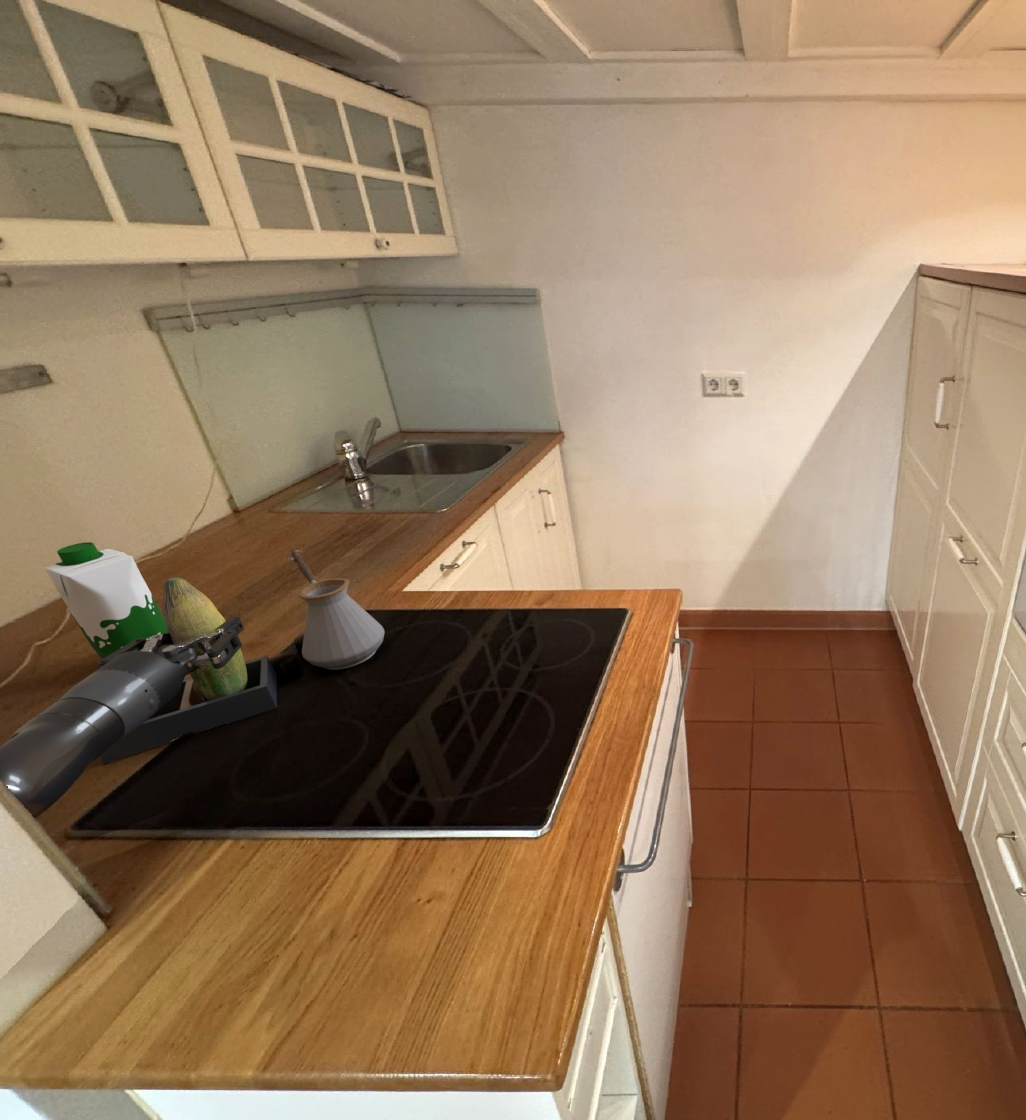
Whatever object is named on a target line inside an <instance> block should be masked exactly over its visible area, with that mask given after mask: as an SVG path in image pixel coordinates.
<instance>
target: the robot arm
mask: <svg viewBox="0 0 1026 1120" xmlns="http://www.w3.org/2000/svg"><path fill="white" fill-rule="evenodd" d="M244 630H245V627H244V625H243V622H242V620H241V618H240V617H239V616H231V617H229V618H228V619H227V620H226V622H224V623H223V624H222V625H221V626H219V627H218V628H217V629H216V630H215V631H213V632H210V633H208V634H206V635H204V636H200V635H196V636H194V637H192V638H190V639H188V640H186V641H183V642H181V643H179V644H177V645H174V643H173V641H172V638H171V635H170V633H169V630H167V631H166V632H165V633H163V634H158V635H155V636H153V637H151V639H150V640H145V638H139V639H136V640H134V641H132V642H131V643H129V644H127V645H126V646H124V647H122V648H120V649H119V650H117V651H115V652H114V653H112V654H110V655H109V656H107V657H105V658H104V659H102V658H101V659H100V660H98V661H97V666H98V667H99V668H98V669H96V670H95V671H93V672H92V673H91V674H89V675H88V676H86V677H85V678H84V679H82V680H80V681H79V682H77V683H76V684H75V685H74V686H72V687H70V689H68V690H67V691H66V692H65V693H63V694H62V695H61V697H60V698H59V699H57V700H56V701H55V702H53V704H51V705H49V706H48V707H47V708H45V709H44V710H42V711H41V712H39V713H38V714H37V715H35V716H33V718H31V719H30V720H28V721H27V722H25V723H24V724H23V725H22V726H20V727H19V728H18V729H17V730H16V731H15V732H14V733H13V734H12V735H11V736H10V737H9V738H8V741H6V742H5V743H3V744H2V745H1V746H0V779H3V781H4V783H5V785H6V786H8V789H9V790H11V792H12V794H14V796H15V797H16V798H17V799H18V800H19V801H20V802H21V803H22V804H23V805H24V807H25V808H26V809H28V811H29V812H30V813H31V814H32V816H33V817H34V818H35V819H34V820H36V819H37V818H38V817H40V816H41V815H42V814H44V813H45V812H46V811H47V810H48V809H50V808H51V807H52V806H54V804H55V803H57V802H58V801H59V800H60V799H61V798H62V797H63V796H64V795H65V794H66V793H67V792H68V791H69V790H70V789H71V787H72V786H73V785H74V784H75V783H76V782H77V780H78V779H79V778H80V777H81V776H82V775H83V774H84V772H85V771H86V769H87V768H88V767H91V765H92V764H93V763H95V762H96V761H98V760H99V759H100V757H101V756H102V755H103V754H104V753H106V752H107V751H108V750H109V749H110V748H111V747H113V746H114V745H115V744H116V743H117V742H118V741H120V740H121V739H122V738H124V737H125V736H127V735H128V734H130V733H132V732H133V731H134V730H136V729H137V728H138V727H139V726H141V725H142V724H143V723H144V722H145V721H146V720H149V719H151V718H152V717H151V716H152V715H153V714H155V713H156V712H157V711H158V710H159V709H160V708H161V707H163V706H164V705H165V704H166V703H167V702H168V701H170V700H171V699H172V698H173V697H174V696H175V695H176V694H177V693H178V692H179V691H180V689H181V687H182V684H183V681H184V679H186V676H187V675H190V673H191V672H193V671H195V670H197V669H198V668H199V667H200V666H202V665H208V664H212V665H213V667H214V669H219V668H222V667H224V666H225V665H226V664H227V663H228V662H229V660H230V659H231V658H232V657H233V656H234V655H235V654H236V652H237V651H238V650H239V649H240V650H241V647H243V644H242V641H241V640H240V639H241V638H240V637H239V634H240V633H241V632H243V631H244ZM214 638H216V640H217V641H216V642H215V643H214V644H213V645H212V646H211V645H210V643H209V642H210V640H212V639H214ZM195 644H197V645H198V647H199V649H200V651H201V656H199V654H198V652H197V650H196V648H195V647H194V646H193V645H195ZM134 649H137V651H133V650H134Z"/></svg>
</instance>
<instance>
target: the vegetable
mask: <svg viewBox="0 0 1026 1120" xmlns="http://www.w3.org/2000/svg"><path fill="white" fill-rule="evenodd" d="M161 608H162V615H163V617H164V620H165V623H166V626H167V628H168V630H169V633H170V635H171V638H172V641H173V643H174V645H177V644H179V643H181V642H183V641H186V640H188V639H190V638H192V637H194V636H196V635H200V636H204V635H206V634H208V633H210V632H213V631H215V630H216V629H217V628H218V627H219V626H221V625H222V624H223V623H224V622H226V621H227V620H226V619H225V618H224V616H223V615H222V614H221V613H220V612H219V611H218V609H217V607H216V606H215V605H214V603H213V602H212V601H211V599H210V598H208V596H206V594H204V593H203V592H201V591H200V590H199V589H197V588H196V587H195V586H193V585H192V584H191V583H190V582H188V580H186V579H184V578H182V577H170V578H169V579H167V580H166V581H165V583H164V584H163V598H162V607H161ZM216 641H217V640H216V638H214V639H212V640H210V642H209V643H210V645H211V646H212V645H213V644H214V643H215V642H216ZM193 646H194V647H195V648H196V650H197V652H198V654H199V656H201V651H200V649H199V647H198V645H197V644H195V645H193ZM245 662H246V661H245V658H244V655H243V653H242V650H241V648H240V649H239V650H238V651H237V652H236V654H235V655H234V656H233V657H232V658H231V659H230V660H229V662H228V663H227V664H226V665H225V666H224V667H222V668H219V669H214V667H213V665H212V664H208V665H202V666H200V667H199V668H198V669H197V670H195V671H193V672H191V673H189V675H190V678H191V677H192V679H193V681H194V682H195V684H196V685H197V687H198V689H199V690H200V691H201V693H202V694H203V695H204V696H205V697H206V698H207V699H209V700H208V701H211V700H214V699H217V698H221V697H224V696H227V695H230V694H234V693H237V692H240V691H243V690H246V689H247V688H246V685H247V671H246V666H245Z"/></svg>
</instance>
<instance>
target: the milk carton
mask: <svg viewBox="0 0 1026 1120" xmlns="http://www.w3.org/2000/svg"><path fill="white" fill-rule="evenodd" d="M56 553H57V555H58V556H59V557H58V558H60V560H61V561H60V562H57V563H55V564H52V565H49V566H46V567H44V569H45V571H46V573H47V574H48V576H49V578H50V580H51V581H52V583H53V585H54V586H55V588H56V590H57V592H58V593H59V595H60V597H61V599H62V600H63V602H64V604H65V605H66V607H67V609H68V611H69V612H70V614H71V615H72V617H73V618H74V620H75V623H77V625H78V627H79V629H80V630H81V632H82V634H83V635H84V637H85V638H86V640H87V642H88V643H89V645H90V646H91V647H92V649H93V650H94V651H95V652H96V654H97V655H98V656H99V657H100V658H101V660H102V659H104V658H105V657H107V656H109V655H110V654H112V653H114V652H115V651H117V650H119V649H120V648H122V647H124V646H126V645H127V644H129V643H131V642H132V641H134V640H136V639H139V638H145V640H150V639H151V637H153V636H155V635H158V634H163V633H165V632H166V631H167V630H168V628H167V626H166V623H165V620H164V616H163V612H162V611H161V609H160V608H159V605H158V604H157V602H156V600H155V598H154V596H153V594H152V592H151V590H150V588H149V587H148V584H147V583H146V581H145V579H144V577H143V576H142V574H141V571H140V570H139V568H138V565H137V563H136V561H135V559H134V556H132V555H129V554H127V553H126V552H122V551H118V550H115V549H111V548H104V549H101V550H98V548H97V547H96V545H95V543H94V542H91V541H88V542H87V541H86V542H79V543H74V544H70V545H67V546H64V547H61V548H60V549H58V550H57V551H56ZM133 651H137V649H134V650H133Z"/></svg>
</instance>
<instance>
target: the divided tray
mask: <svg viewBox="0 0 1026 1120" xmlns="http://www.w3.org/2000/svg"><path fill="white" fill-rule="evenodd" d="M244 662H245V666H246V671H247V685H246V688H245V690H243V691H240V692H237V693H234V694H230V695H227V696H224V697H221V698H217V699H214V700H211V701H210V700H209V699H207V698H206V697H205V696H204V695H203V694H202V693H201V691H200V690H199V689H198V687H197V685H196V684H195V682H194V681H193V679H192V677H191V676H190V677H188V678H184V681H183V684H182V687H181V689H180V691H179V692H178V693H177V694H176V695H175V696H174V697H173V698H172V699H171V700H170V701H168V702H167V703H166V704H165V705H164V706H163V707H161V708H160V709H159V710H158V711H157V712H156V713H155V714H153V715H152V716H151V717H150V718H149V719H148V720H146V721H145V722H144V723H143V724H142V725H141V726H139V727H138V728H137V729H136V730H134V731H133V732H132V733H130V734H128V735H127V736H125V737H124V738H122V739H121V740H120V741H118V742H117V743H116V744H115V745H114V746H113V747H111V748H110V749H109V750H108V751H107V752H106V753H104V754H103V755H102V756H101V757H100V758H99V759H100V761H101V762H102V764H103V765H106V764H105V763H107V764H109V763H112V762H116V761H118V760H121V759H125V758H128V757H131V756H133V755H137V754H141V753H143V752H147V751H150V750H152V748H153V749H156V748H159V747H162V746H165V745H166V744H165V743H168V742H170V741H172V740H173V739H176V738H178V737H179V736H181V735H183V734H186V733H188V732H196V731H200V730H204V729H208V728H214V727H217V726H219V725H223V724H226V725H229V724H232V723H235V722H239V721H242V720H245V719H248V718H251V717H254V716H257V715H261V714H263V713H266V712H269V711H272V710H275V709H278V675H277V673H276V671H275V668H274V667H273V665H272V662H271V660H270V658H269V656H268V655H265V656H261V657H258V658H253V659H251V660H247V661H244ZM254 685H255V686H254ZM251 686H252V687H251ZM238 720H239V721H238ZM234 721H235V722H234ZM231 722H232V723H231ZM223 726H224V725H223ZM217 728H218V727H217ZM214 729H215V728H214ZM164 744H165V745H164ZM168 744H169V743H168ZM161 745H162V746H161ZM158 746H159V747H158ZM155 747H156V748H155Z"/></svg>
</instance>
